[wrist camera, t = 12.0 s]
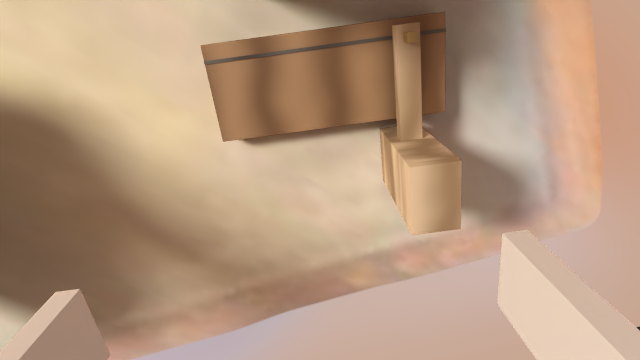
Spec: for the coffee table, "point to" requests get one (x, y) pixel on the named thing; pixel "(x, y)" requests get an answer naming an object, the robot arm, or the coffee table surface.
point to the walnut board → (318, 77)
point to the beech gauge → (418, 149)
